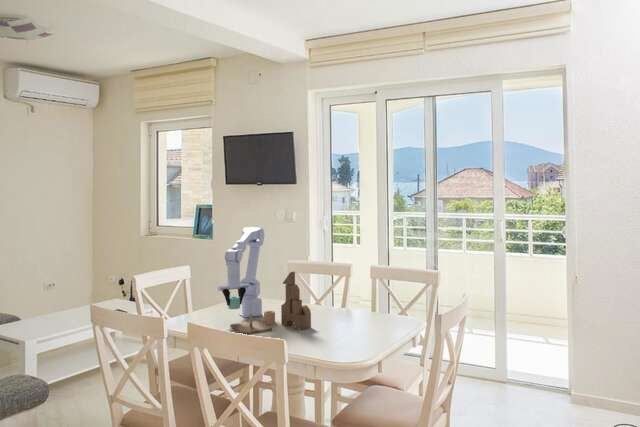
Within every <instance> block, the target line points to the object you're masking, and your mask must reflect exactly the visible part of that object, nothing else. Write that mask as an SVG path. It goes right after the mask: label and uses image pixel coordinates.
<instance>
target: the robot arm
mask: <svg viewBox="0 0 640 427" xmlns="http://www.w3.org/2000/svg"><path fill="white" fill-rule="evenodd" d="M241 235H242V236H241V238H240V240H237V241H235V243H234V245H232V247H231V248H230V249H228V250H226V251H225V253H224V260H225V265H226V266H227V271H226V272H227V284H225V285H218V286H217V291H219V292H222V293H223V296H224V299H225V301H226V306H230V297H231V291H232V290H237V295H238V296H239V297H240V306H241V313H239V316H241V317H243V318H250V314H252V318H253V317H258V316H259V317H260V316H263V306H262V305H263V302H262V298H261V297H260V294H261V283H260V281H259V280H258V279H257V278H256V277H257V270H258V263H259V257H260V256H259V255H260V249H261V246H263V244H264V241H265V240H264V239H265V231H264V228H263V227H246V226H245V227H244V228H243V230H242V234H241ZM247 246H249V253H248V258H247V259H248V260H247V266H246V272H245V277H243V279H241V261H242V259H243V257H244V256H243V254H244V252H245V251H246V250H247ZM230 290H231V291H230Z"/></svg>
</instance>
